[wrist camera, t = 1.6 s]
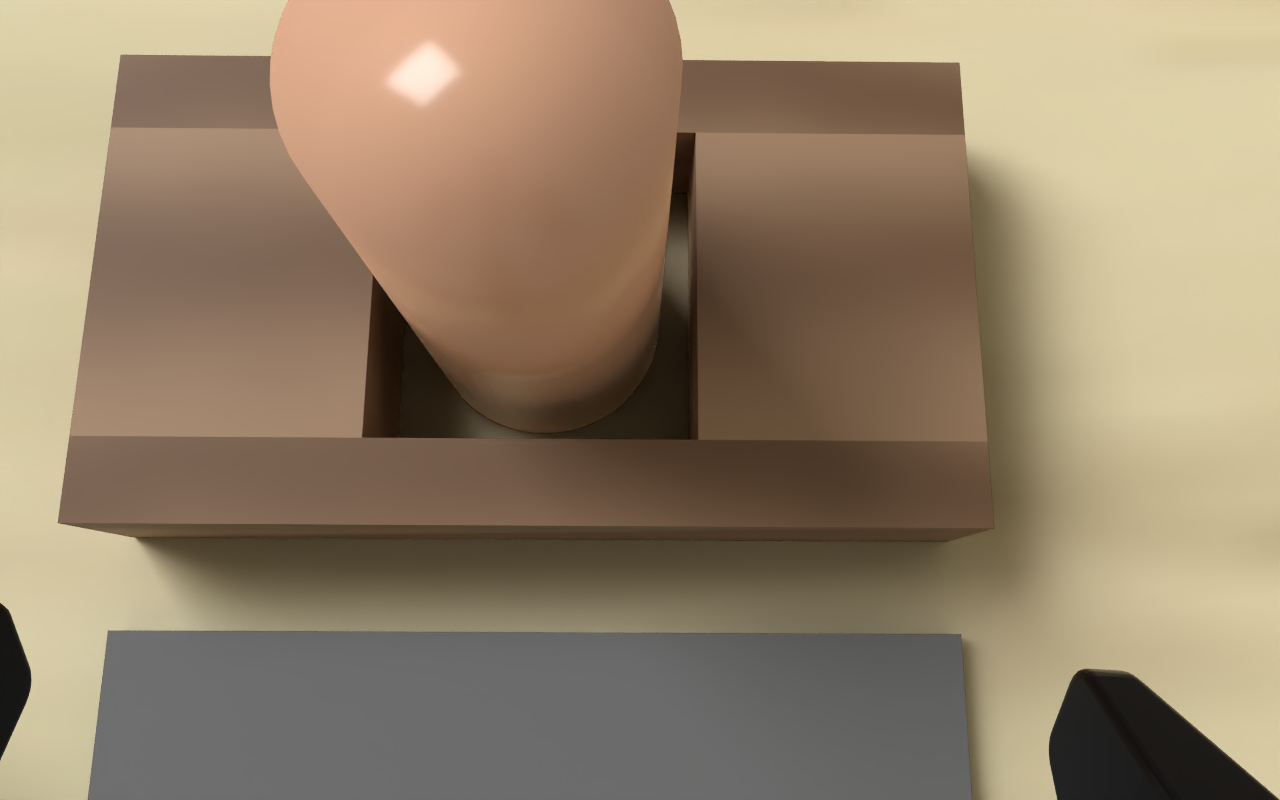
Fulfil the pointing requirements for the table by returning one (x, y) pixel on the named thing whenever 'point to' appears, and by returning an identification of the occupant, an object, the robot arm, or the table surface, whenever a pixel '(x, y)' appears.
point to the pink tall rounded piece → (497, 181)
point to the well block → (541, 468)
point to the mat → (530, 716)
